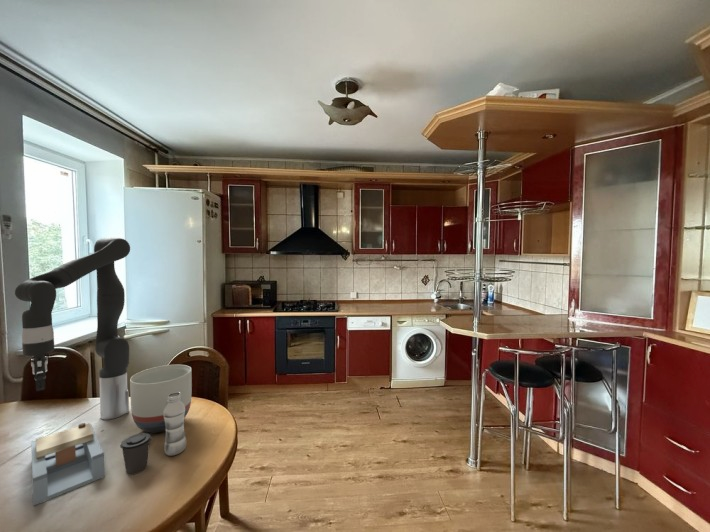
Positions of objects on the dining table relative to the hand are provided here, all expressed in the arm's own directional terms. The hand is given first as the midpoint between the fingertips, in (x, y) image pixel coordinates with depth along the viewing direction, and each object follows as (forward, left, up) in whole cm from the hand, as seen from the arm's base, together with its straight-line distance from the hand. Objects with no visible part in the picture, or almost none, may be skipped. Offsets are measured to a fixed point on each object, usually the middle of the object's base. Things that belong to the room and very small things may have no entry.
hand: (40, 386), depth 105 cm
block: (-5, +13, -22) cm, 26 cm away
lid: (-5, +13, -16) cm, 22 cm away
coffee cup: (-20, +34, -23) cm, 46 cm away
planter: (-33, +13, -23) cm, 42 cm away
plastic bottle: (-31, +34, -23) cm, 51 cm away
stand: (-5, +17, -23) cm, 29 cm away
